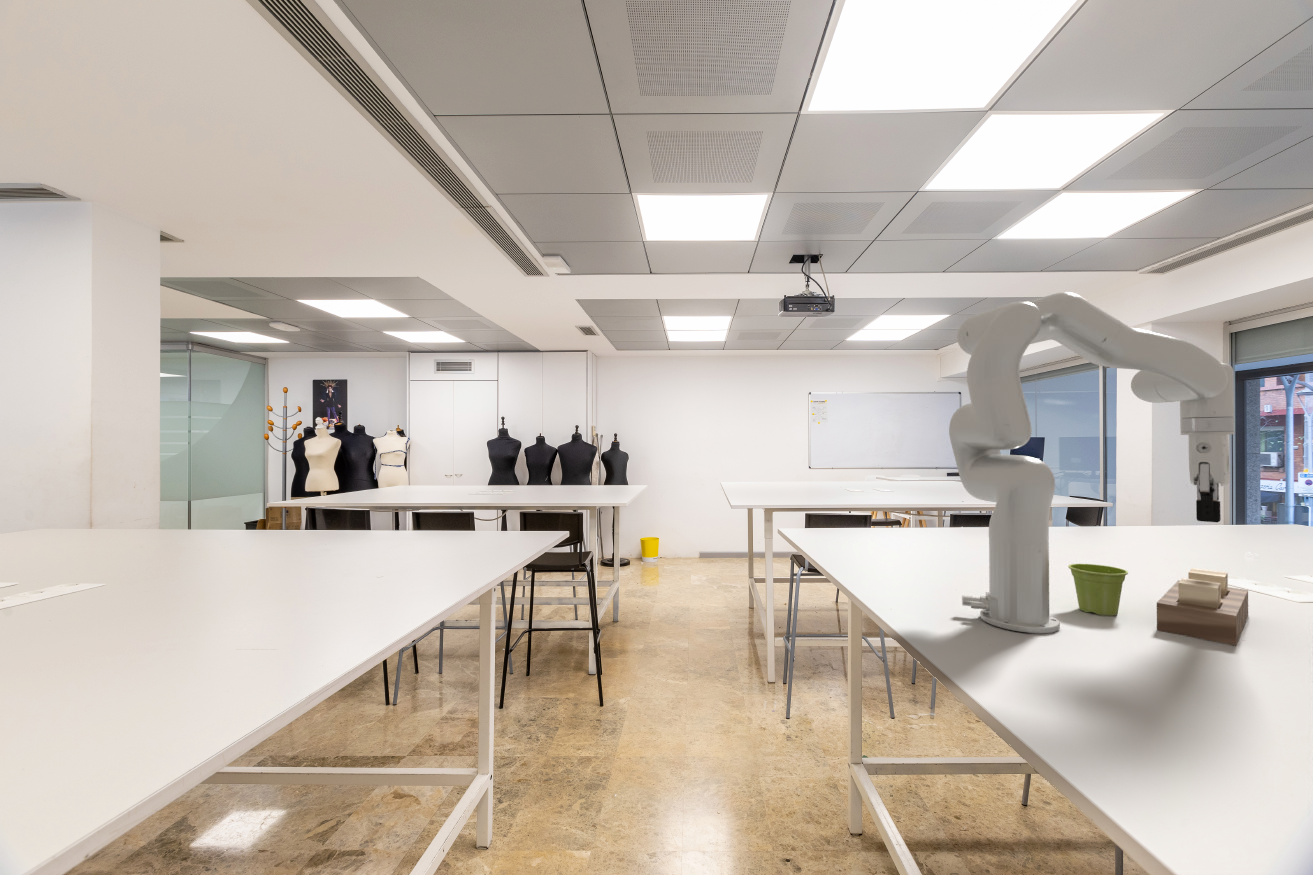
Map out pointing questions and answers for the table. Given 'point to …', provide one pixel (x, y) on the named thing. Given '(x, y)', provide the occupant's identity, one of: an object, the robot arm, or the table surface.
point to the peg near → (1200, 593)
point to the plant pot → (1098, 587)
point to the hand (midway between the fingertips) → (1208, 521)
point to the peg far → (1211, 578)
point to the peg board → (1204, 616)
